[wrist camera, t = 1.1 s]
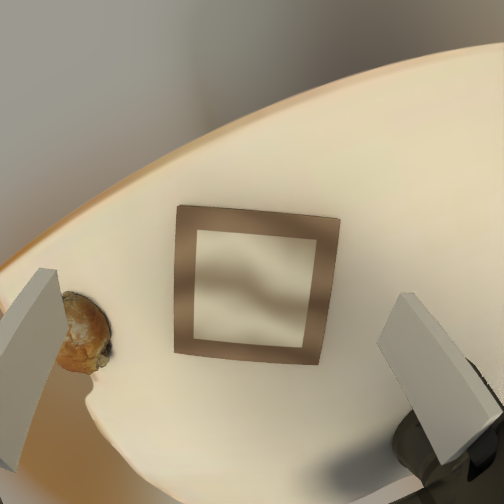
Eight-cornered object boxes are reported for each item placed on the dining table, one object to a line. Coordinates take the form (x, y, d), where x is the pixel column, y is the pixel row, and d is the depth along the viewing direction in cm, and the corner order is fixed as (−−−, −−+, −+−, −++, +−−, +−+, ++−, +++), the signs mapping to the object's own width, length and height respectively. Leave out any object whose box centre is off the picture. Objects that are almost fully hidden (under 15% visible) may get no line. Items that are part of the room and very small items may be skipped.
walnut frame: (316, 358, 35) (318, 365, 33) (177, 346, 35) (174, 353, 33) (337, 218, 32) (340, 219, 30) (180, 205, 32) (176, 205, 30)
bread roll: (108, 284, 38) (66, 274, 30) (132, 361, 35) (90, 367, 27) (60, 310, 39) (19, 305, 31) (80, 380, 36) (38, 386, 28)
